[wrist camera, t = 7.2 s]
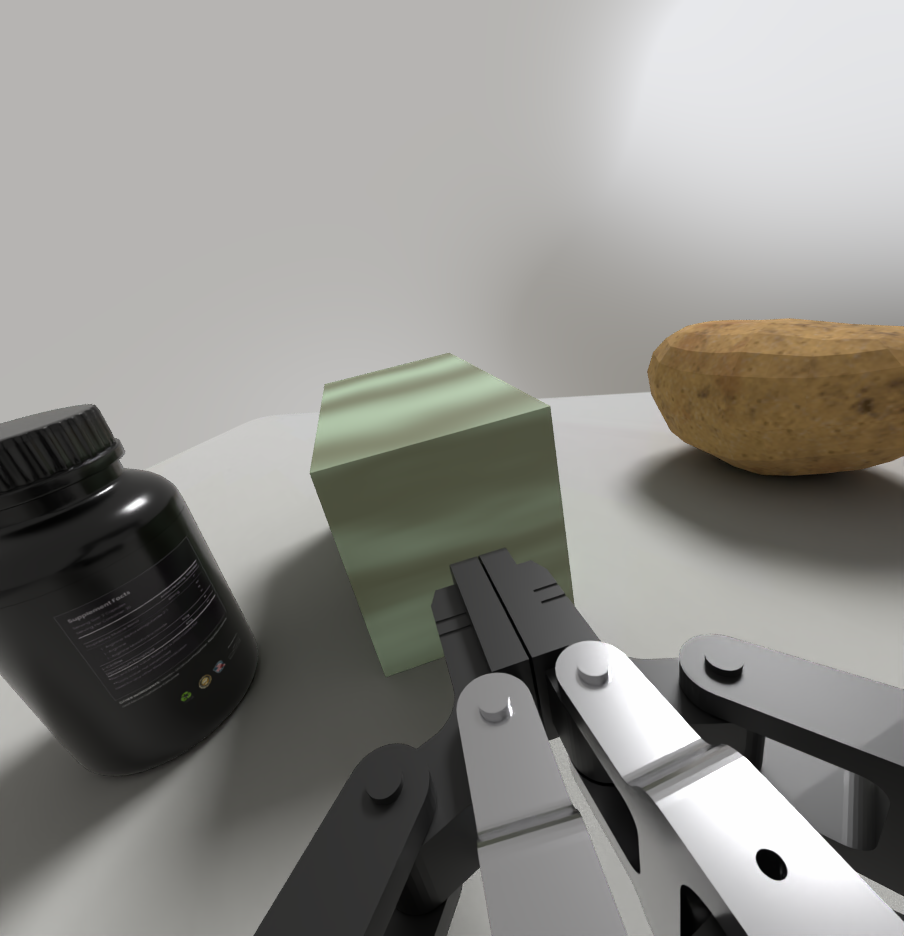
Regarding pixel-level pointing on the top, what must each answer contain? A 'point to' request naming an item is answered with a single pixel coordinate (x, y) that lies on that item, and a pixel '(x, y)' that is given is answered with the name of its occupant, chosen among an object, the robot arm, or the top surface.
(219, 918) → the top surface
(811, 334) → the potato
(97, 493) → the supplement bottle
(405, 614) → the sage-green block
